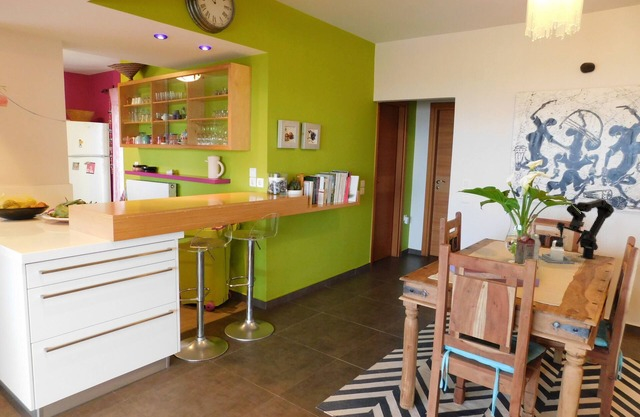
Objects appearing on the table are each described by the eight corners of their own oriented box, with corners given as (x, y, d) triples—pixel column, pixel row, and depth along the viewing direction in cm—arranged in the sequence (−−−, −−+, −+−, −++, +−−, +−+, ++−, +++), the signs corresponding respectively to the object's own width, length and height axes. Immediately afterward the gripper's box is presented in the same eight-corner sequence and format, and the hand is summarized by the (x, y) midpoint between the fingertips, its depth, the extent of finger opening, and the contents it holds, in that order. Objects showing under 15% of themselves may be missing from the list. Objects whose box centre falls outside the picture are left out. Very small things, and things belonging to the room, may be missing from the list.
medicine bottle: (561, 258, 274) (564, 240, 272) (562, 261, 268) (565, 242, 266) (549, 257, 277) (551, 239, 275) (550, 259, 271) (552, 241, 269)
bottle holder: (537, 257, 280) (538, 253, 279) (562, 258, 279) (563, 254, 279) (548, 263, 266) (548, 258, 265) (574, 264, 265) (575, 259, 265)
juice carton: (522, 273, 242) (526, 235, 238) (513, 269, 248) (517, 232, 245) (531, 272, 243) (535, 234, 240) (523, 269, 250) (527, 232, 247)
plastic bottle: (539, 268, 252) (543, 235, 249) (527, 267, 253) (531, 234, 250) (536, 266, 258) (540, 233, 255) (524, 265, 259) (528, 232, 256)
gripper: (562, 210, 270) (553, 232, 267) (595, 220, 261) (586, 242, 258) (560, 217, 279) (552, 237, 277) (592, 226, 270) (584, 248, 267)
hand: (568, 241), depth 269 cm, fingers open, 9 cm apart
